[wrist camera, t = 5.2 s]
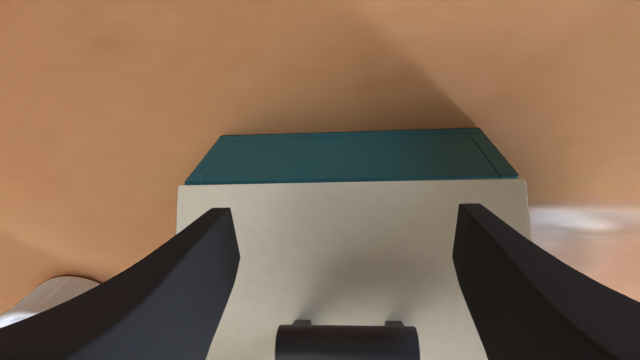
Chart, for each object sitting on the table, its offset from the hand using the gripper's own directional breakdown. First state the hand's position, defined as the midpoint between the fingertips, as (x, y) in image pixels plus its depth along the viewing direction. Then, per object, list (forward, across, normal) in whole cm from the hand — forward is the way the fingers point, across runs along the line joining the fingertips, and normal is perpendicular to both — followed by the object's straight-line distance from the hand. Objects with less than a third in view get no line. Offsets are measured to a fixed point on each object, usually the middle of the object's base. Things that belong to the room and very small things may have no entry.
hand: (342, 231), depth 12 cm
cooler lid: (+1, 0, +6) cm, 6 cm away
